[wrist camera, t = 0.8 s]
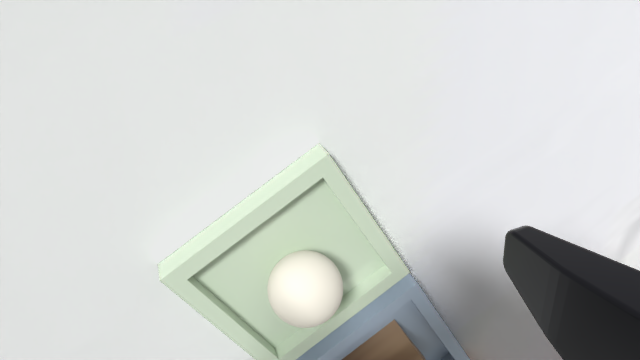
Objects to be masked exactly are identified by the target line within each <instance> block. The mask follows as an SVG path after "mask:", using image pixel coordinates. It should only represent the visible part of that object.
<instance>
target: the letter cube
mask: <svg viewBox="0 0 640 360" xmlns="http://www.w3.org/2000/svg"><path fill="white" fill-rule="evenodd" d="M342 360H426V359H425V357H424V356H423V355H422V354H421V352H420V351H419V350H418V348H417V347H416V346H415V345H414V343H413V342H412V341H411V340H410V338H409V337H408V336H407V335H406V333H405V332H404V331H403V330H402V328H401V327H400V326H399V325H398V323H397V322H396V321H395V320H393V321H392V322H390V323H389V324H388V325H386V326H385V327H384V328H382V329H381V330H380V331H378V332H377V333H376V334H375V335H373V336H372V337H371V338H369V339H368V340H367V341H365V342H364V343H363V344H361V345H360V346H359V347H357V348H356V349H355V350H354V351H352V352H351V353H350V354H348V355H347V356H346V357H344V358H343V359H342Z"/></svg>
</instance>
